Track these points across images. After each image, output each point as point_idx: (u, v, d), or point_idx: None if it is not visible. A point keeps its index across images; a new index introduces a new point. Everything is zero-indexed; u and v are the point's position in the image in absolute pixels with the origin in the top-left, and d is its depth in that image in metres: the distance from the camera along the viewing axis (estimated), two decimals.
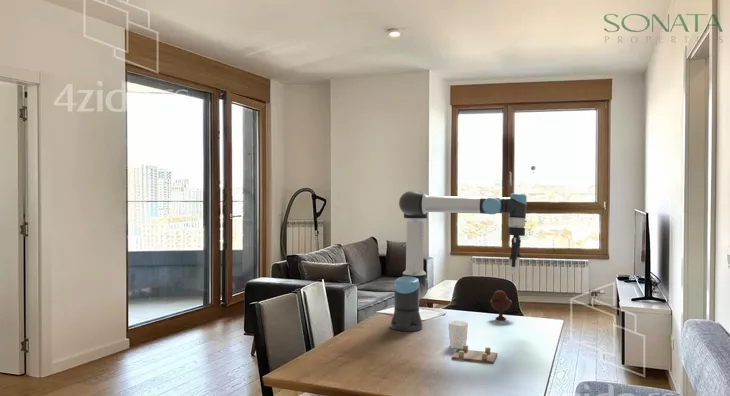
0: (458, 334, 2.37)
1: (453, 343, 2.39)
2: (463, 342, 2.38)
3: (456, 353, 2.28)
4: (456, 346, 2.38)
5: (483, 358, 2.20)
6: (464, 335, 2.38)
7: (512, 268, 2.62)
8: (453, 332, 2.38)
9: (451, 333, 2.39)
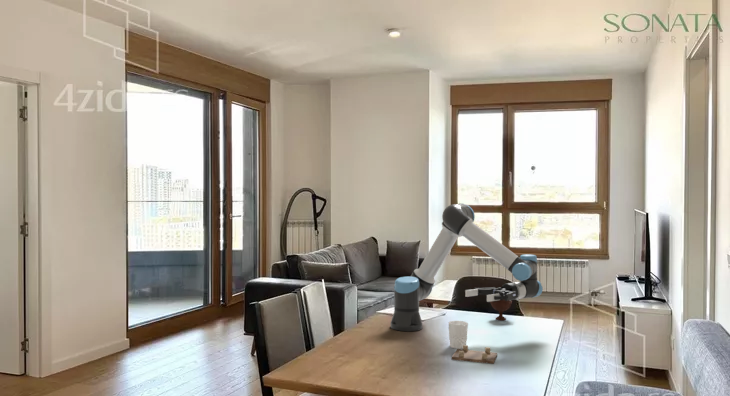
0: (458, 334, 2.37)
1: (453, 343, 2.39)
2: (463, 342, 2.38)
3: (456, 353, 2.28)
4: (456, 346, 2.38)
5: (483, 358, 2.20)
6: (464, 335, 2.38)
7: (492, 297, 2.41)
8: (453, 332, 2.38)
9: (451, 333, 2.39)
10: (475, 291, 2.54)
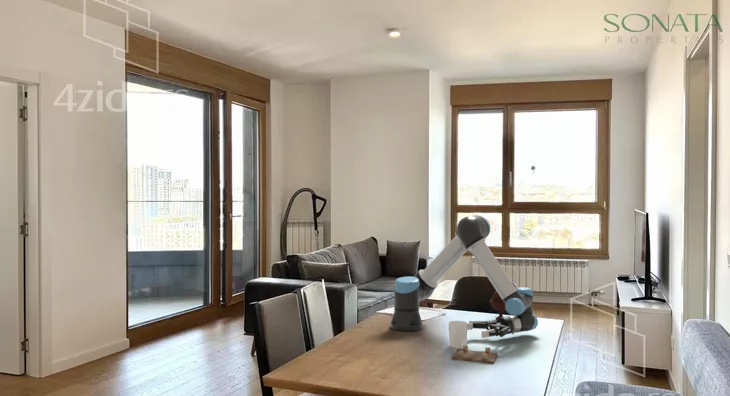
0: (458, 334, 2.37)
1: (453, 343, 2.39)
2: (463, 342, 2.38)
3: (456, 353, 2.28)
4: (456, 346, 2.38)
5: (483, 358, 2.20)
6: (464, 335, 2.38)
7: (487, 333, 2.39)
8: (453, 332, 2.38)
9: (451, 333, 2.39)
10: (470, 325, 2.52)
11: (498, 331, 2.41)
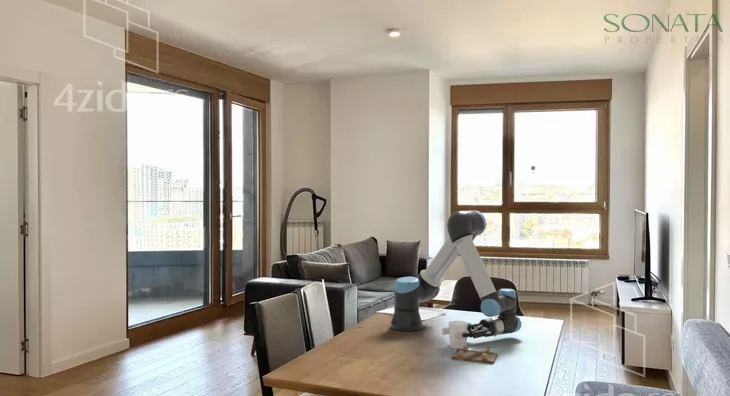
0: None
1: (453, 343, 2.39)
2: (463, 342, 2.38)
3: (456, 353, 2.28)
4: (456, 346, 2.38)
5: (483, 358, 2.20)
6: None
7: (460, 334, 2.36)
8: (453, 332, 2.38)
9: (451, 333, 2.39)
10: None
11: (471, 332, 2.37)
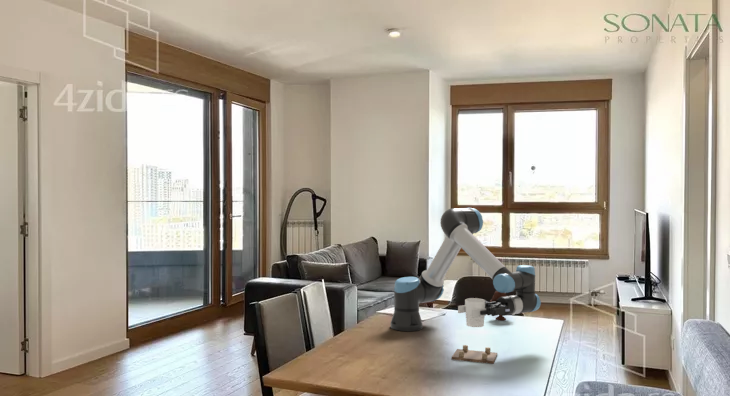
0: None
1: (470, 322, 2.24)
2: (481, 320, 2.24)
3: (456, 353, 2.28)
4: (473, 324, 2.24)
5: (483, 358, 2.20)
6: None
7: (478, 311, 2.22)
8: (471, 310, 2.24)
9: (468, 311, 2.25)
10: None
11: (490, 310, 2.23)
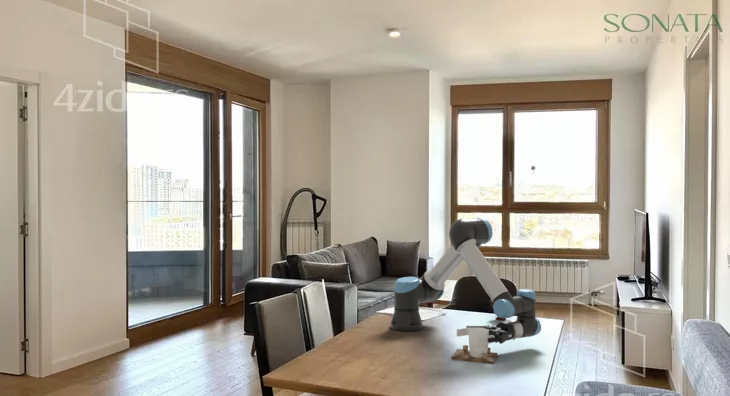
0: (479, 342, 2.21)
1: (474, 352, 2.22)
2: (484, 351, 2.22)
3: (456, 353, 2.28)
4: (477, 355, 2.22)
5: (483, 358, 2.20)
6: None
7: (486, 339, 2.19)
8: (474, 340, 2.22)
9: (471, 341, 2.23)
10: (467, 330, 2.32)
11: (498, 337, 2.21)
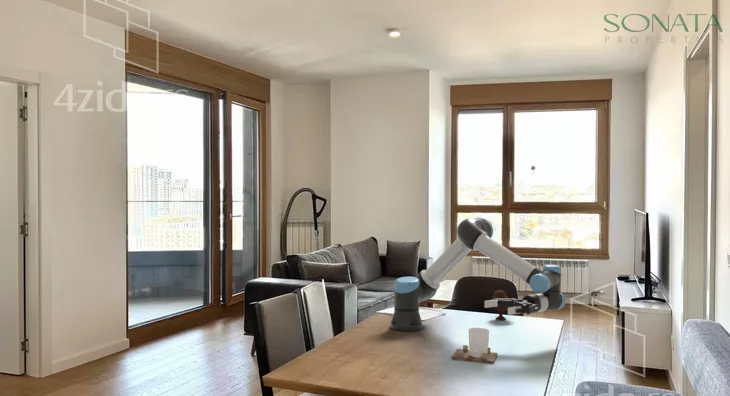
0: (479, 342, 2.21)
1: (474, 352, 2.22)
2: (484, 351, 2.22)
3: (456, 353, 2.28)
4: (477, 355, 2.22)
5: (483, 358, 2.20)
6: (486, 343, 2.22)
7: (514, 309, 2.28)
8: (474, 340, 2.22)
9: (471, 341, 2.23)
10: (495, 302, 2.41)
11: (525, 308, 2.29)
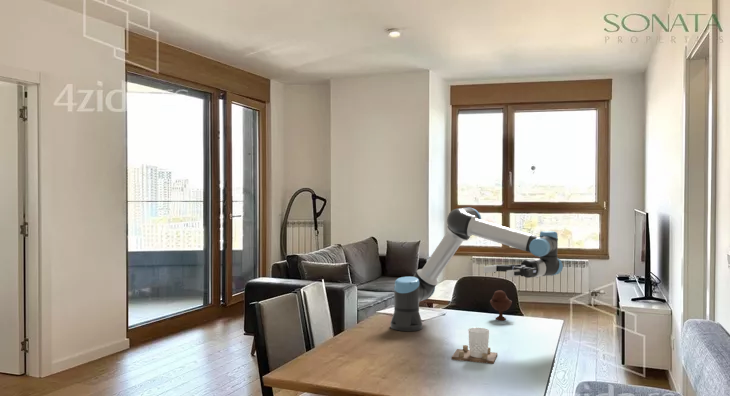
0: (479, 342, 2.21)
1: (474, 352, 2.22)
2: (484, 351, 2.22)
3: (456, 353, 2.28)
4: (477, 355, 2.22)
5: (483, 358, 2.20)
6: (485, 343, 2.22)
7: (512, 272, 2.32)
8: (474, 340, 2.22)
9: (471, 341, 2.23)
10: (493, 267, 2.45)
11: (523, 271, 2.34)
